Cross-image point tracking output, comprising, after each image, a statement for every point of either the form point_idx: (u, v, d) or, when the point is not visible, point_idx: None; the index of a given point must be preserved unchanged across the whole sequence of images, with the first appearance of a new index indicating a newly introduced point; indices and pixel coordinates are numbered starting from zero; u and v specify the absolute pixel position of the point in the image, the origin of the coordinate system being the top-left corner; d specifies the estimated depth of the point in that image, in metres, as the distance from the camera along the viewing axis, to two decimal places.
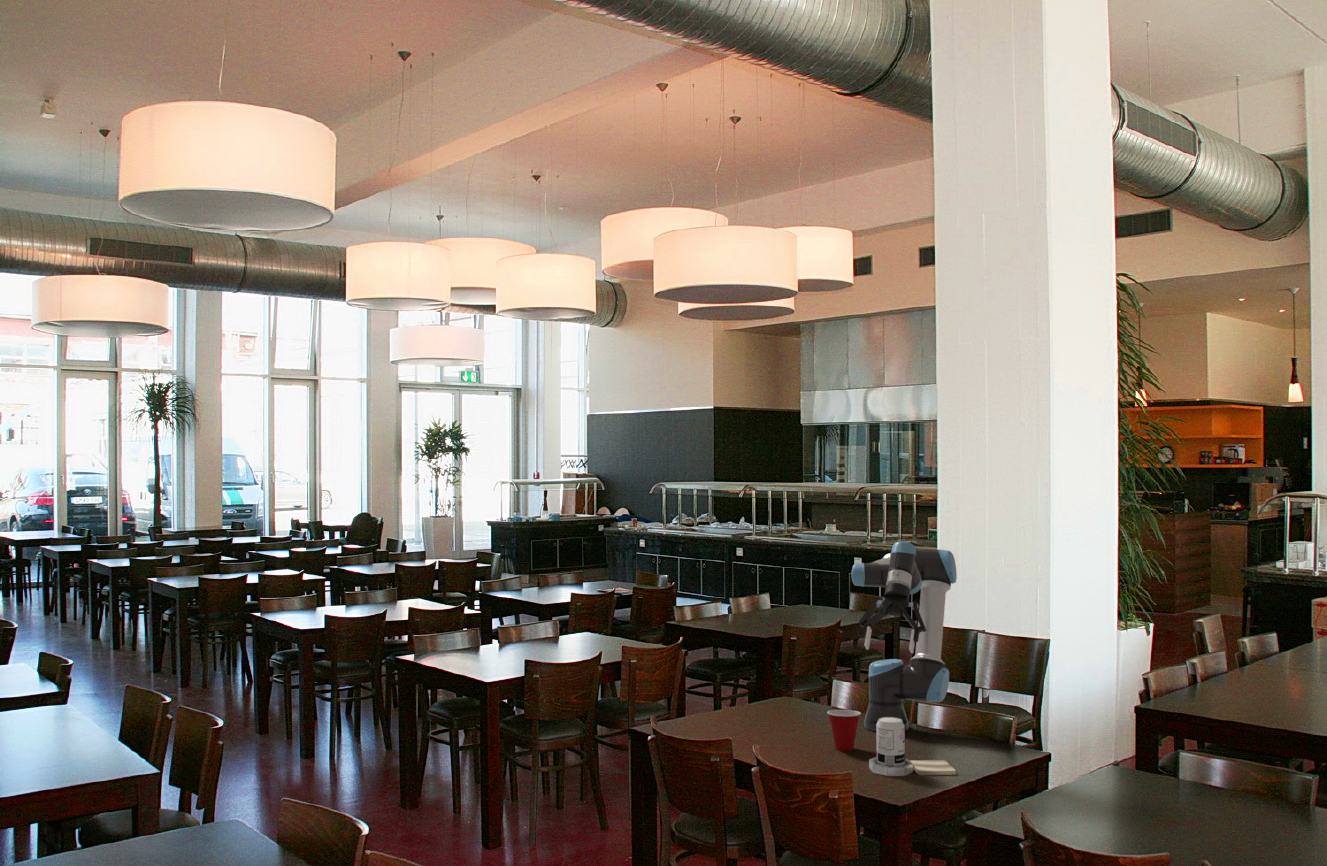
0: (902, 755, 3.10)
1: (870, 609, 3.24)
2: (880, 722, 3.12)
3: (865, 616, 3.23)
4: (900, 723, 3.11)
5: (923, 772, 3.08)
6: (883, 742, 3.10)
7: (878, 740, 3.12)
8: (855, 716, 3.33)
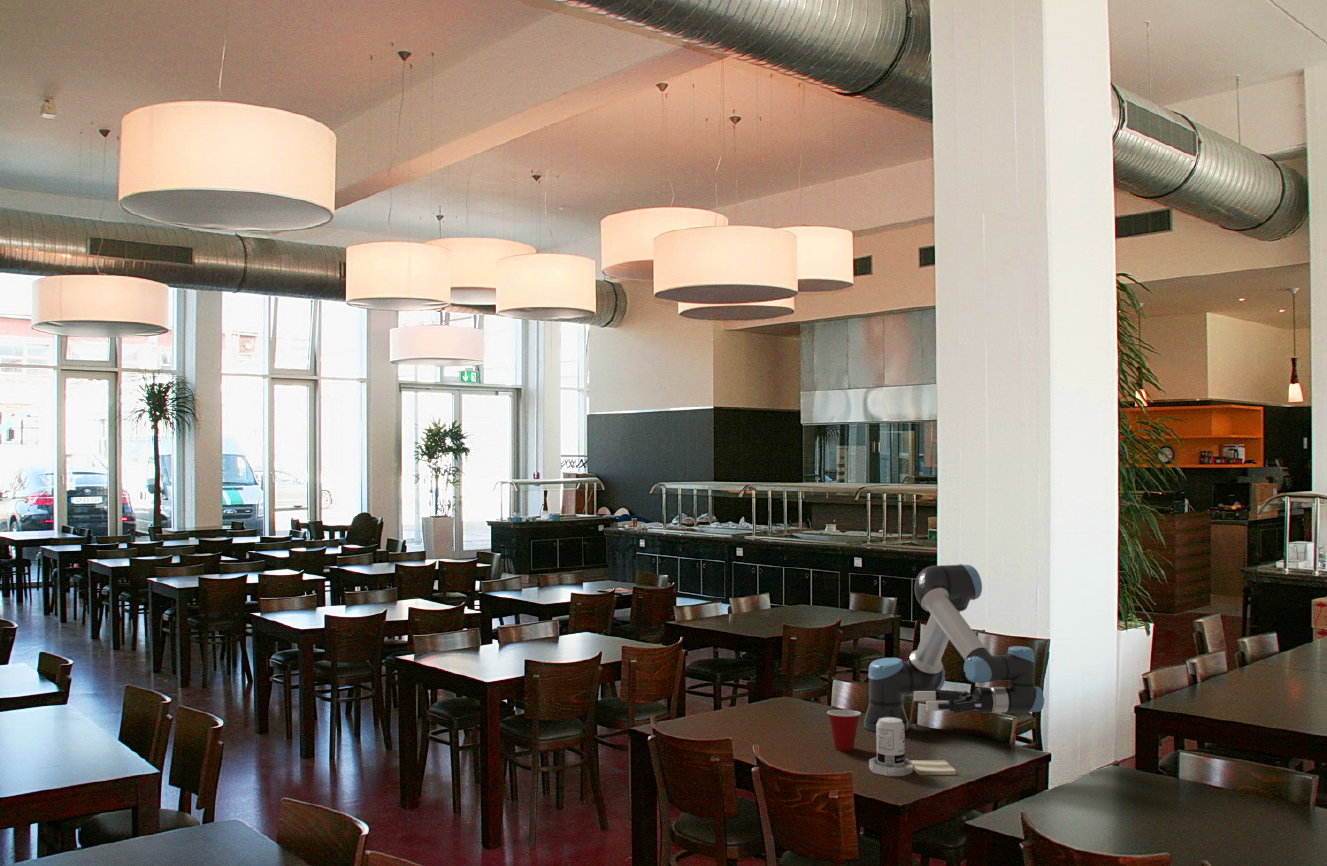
0: (902, 755, 3.10)
1: (968, 709, 3.07)
2: (880, 722, 3.12)
3: None
4: (900, 723, 3.11)
5: (923, 772, 3.08)
6: (883, 742, 3.10)
7: (878, 740, 3.12)
8: (855, 716, 3.33)
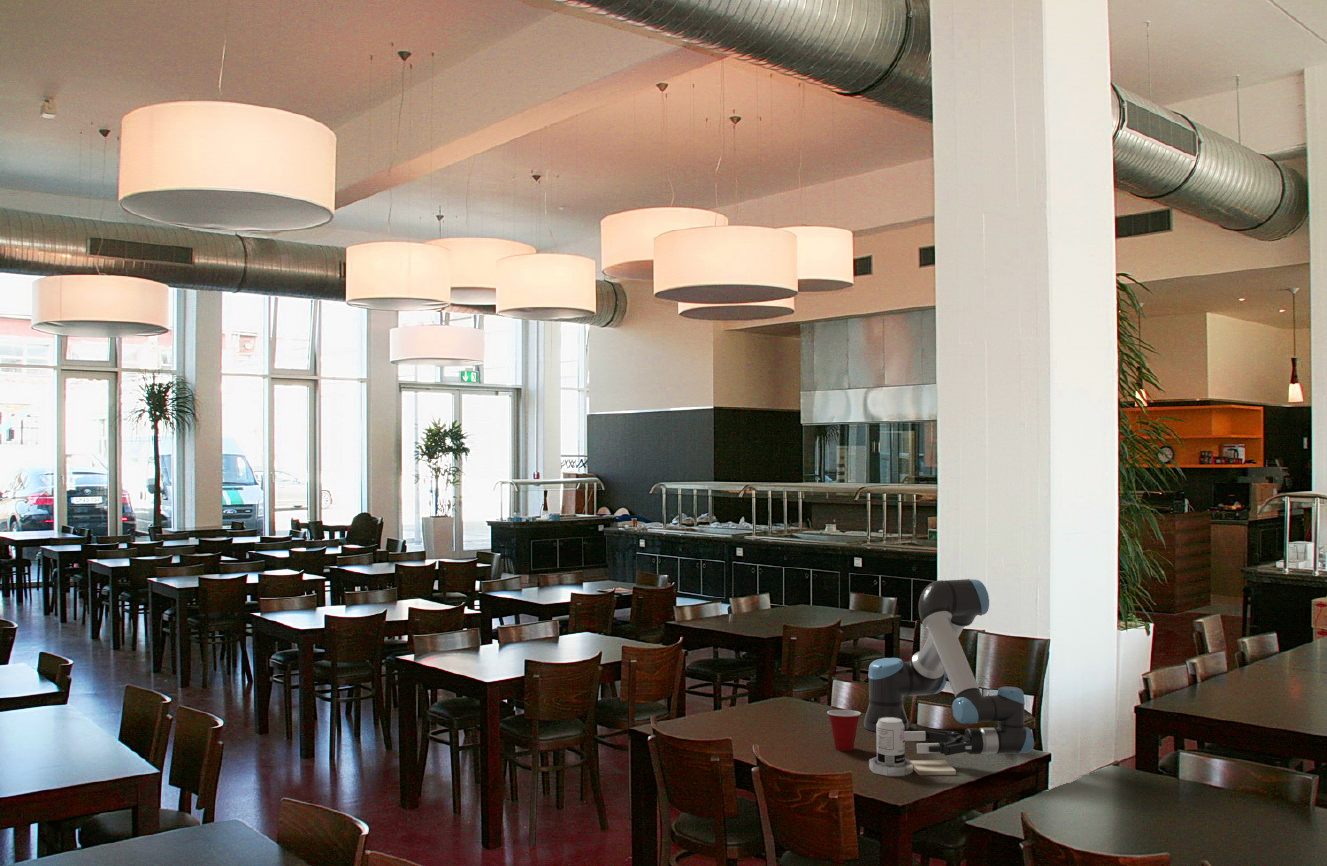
0: (902, 755, 3.10)
1: None
2: (880, 722, 3.12)
3: None
4: (900, 723, 3.11)
5: (923, 772, 3.08)
6: (883, 742, 3.10)
7: (878, 740, 3.12)
8: (855, 716, 3.33)
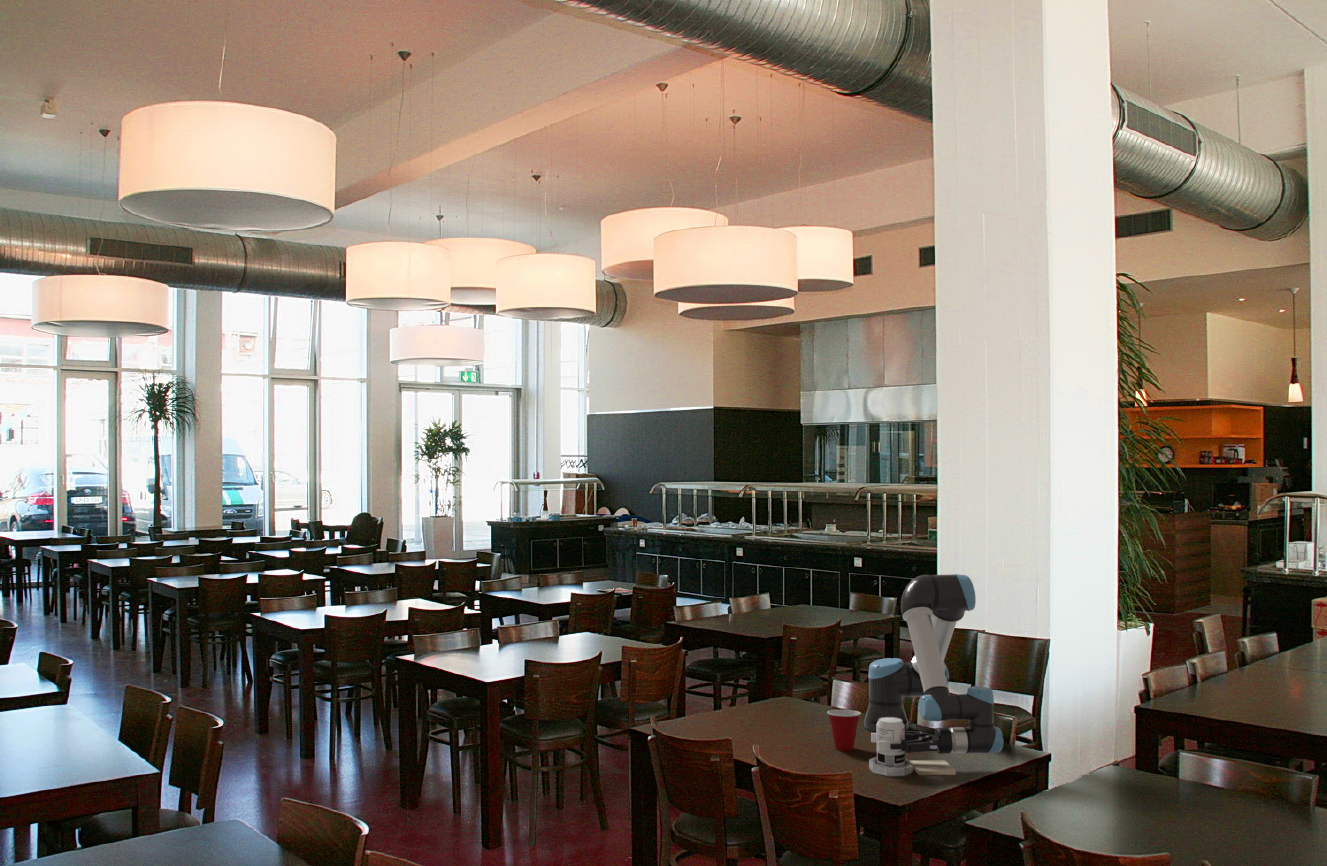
0: (902, 755, 3.10)
1: None
2: (880, 722, 3.12)
3: None
4: (900, 723, 3.11)
5: (923, 772, 3.08)
6: None
7: (878, 740, 3.12)
8: (855, 716, 3.33)
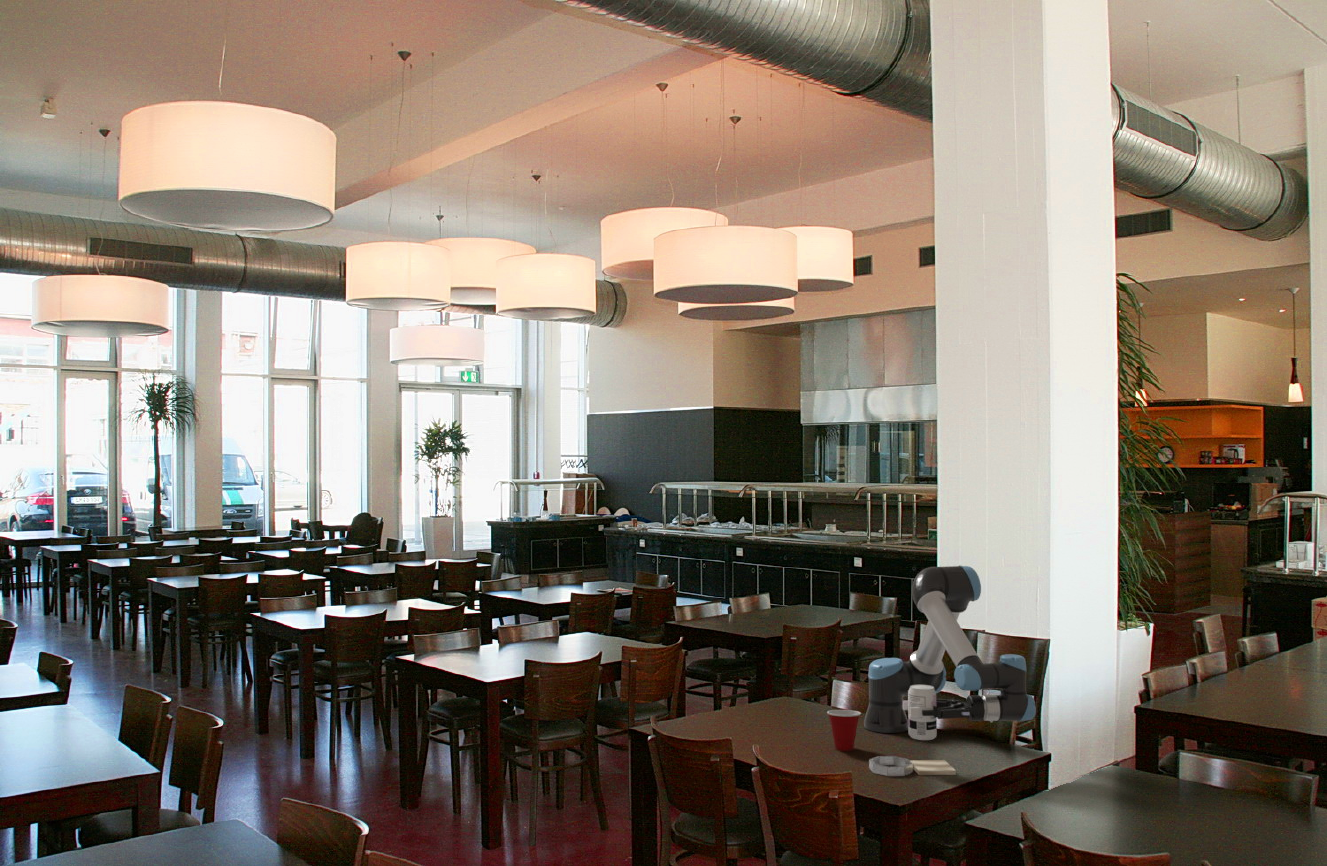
0: (934, 722, 3.11)
1: None
2: (912, 689, 3.13)
3: None
4: (932, 690, 3.11)
5: (923, 772, 3.08)
6: None
7: None
8: (855, 716, 3.33)
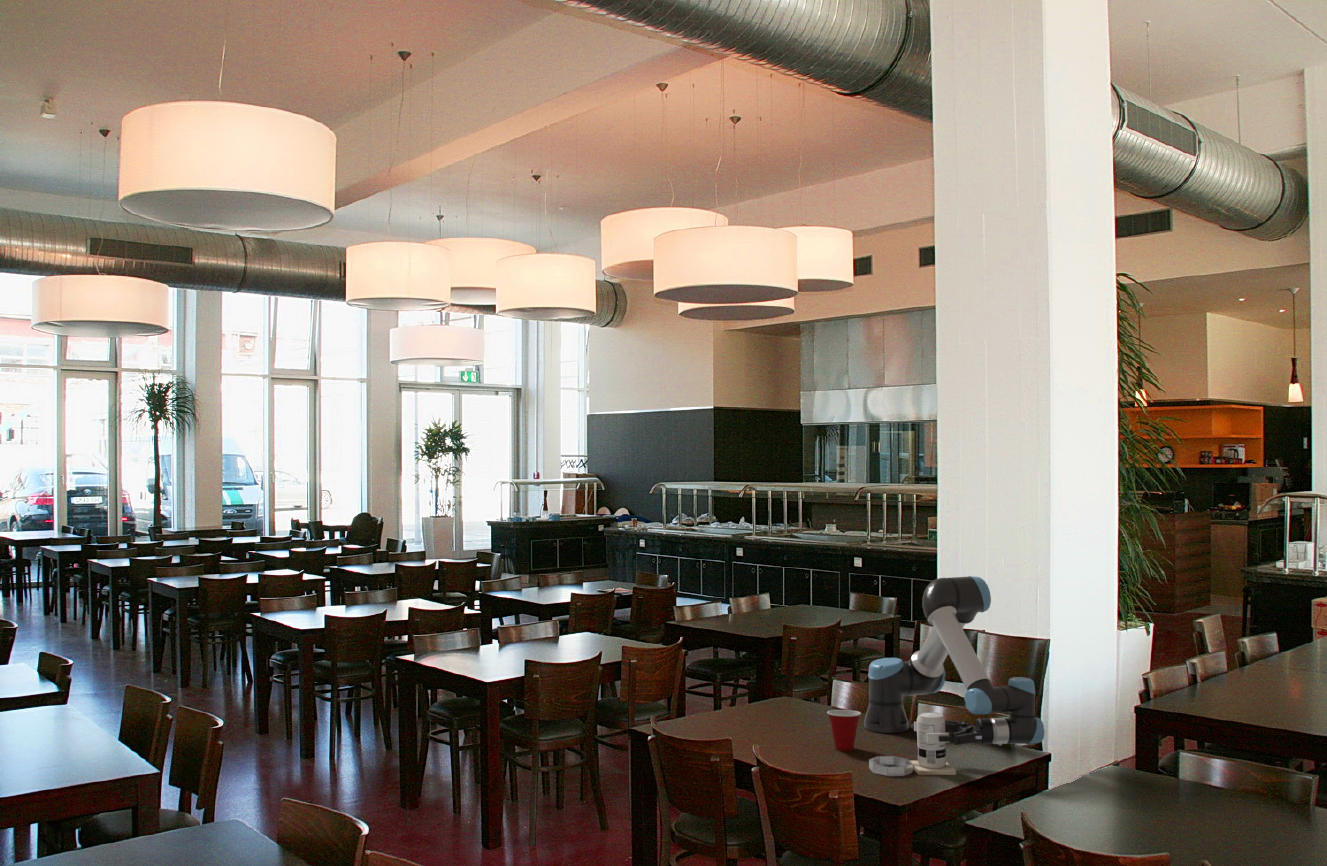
0: (943, 750, 3.11)
1: None
2: (920, 717, 3.13)
3: None
4: (941, 718, 3.11)
5: (923, 772, 3.08)
6: (924, 737, 3.11)
7: (919, 736, 3.13)
8: (855, 716, 3.33)
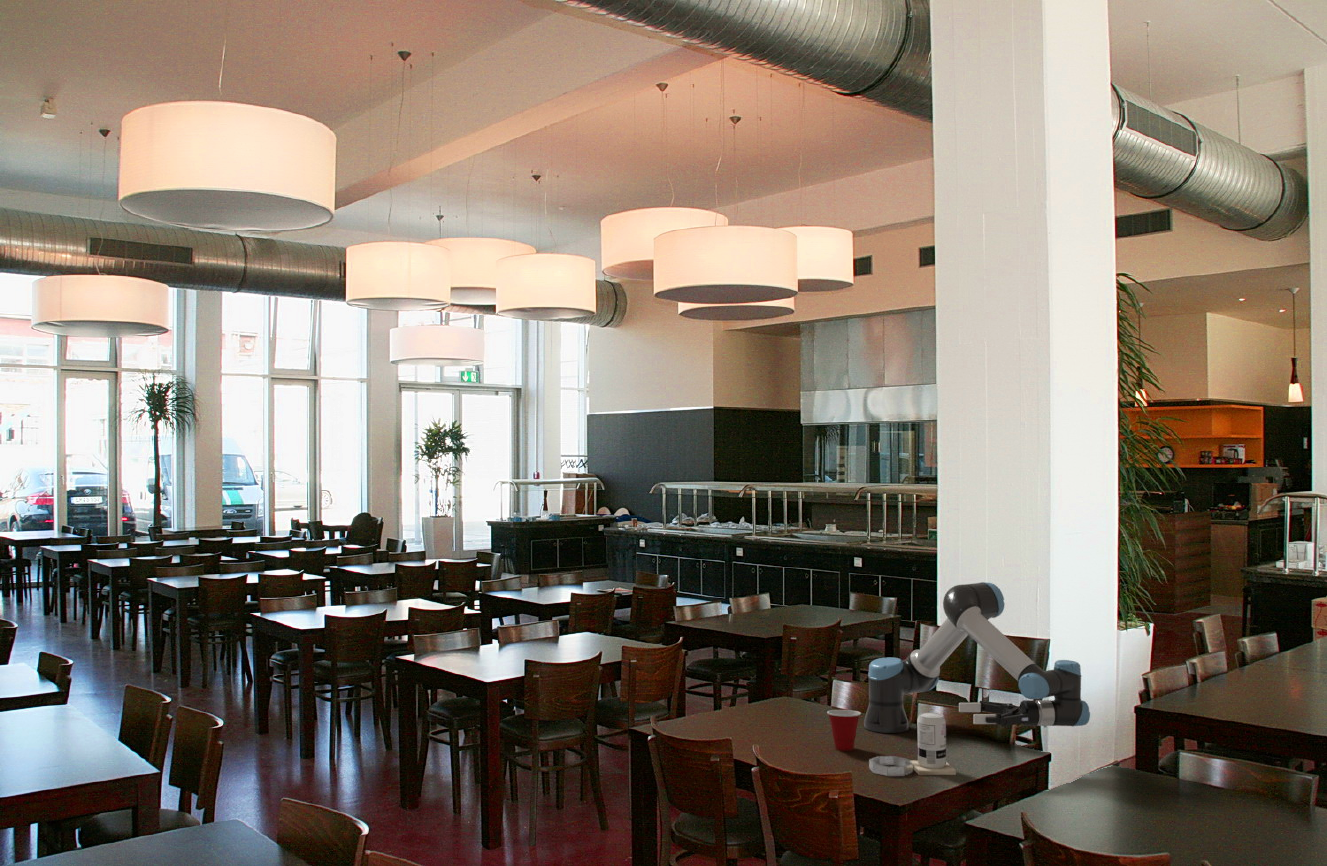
0: (944, 750, 3.11)
1: None
2: (921, 717, 3.12)
3: None
4: (941, 718, 3.11)
5: (923, 772, 3.08)
6: (925, 737, 3.11)
7: (919, 736, 3.13)
8: (855, 716, 3.33)
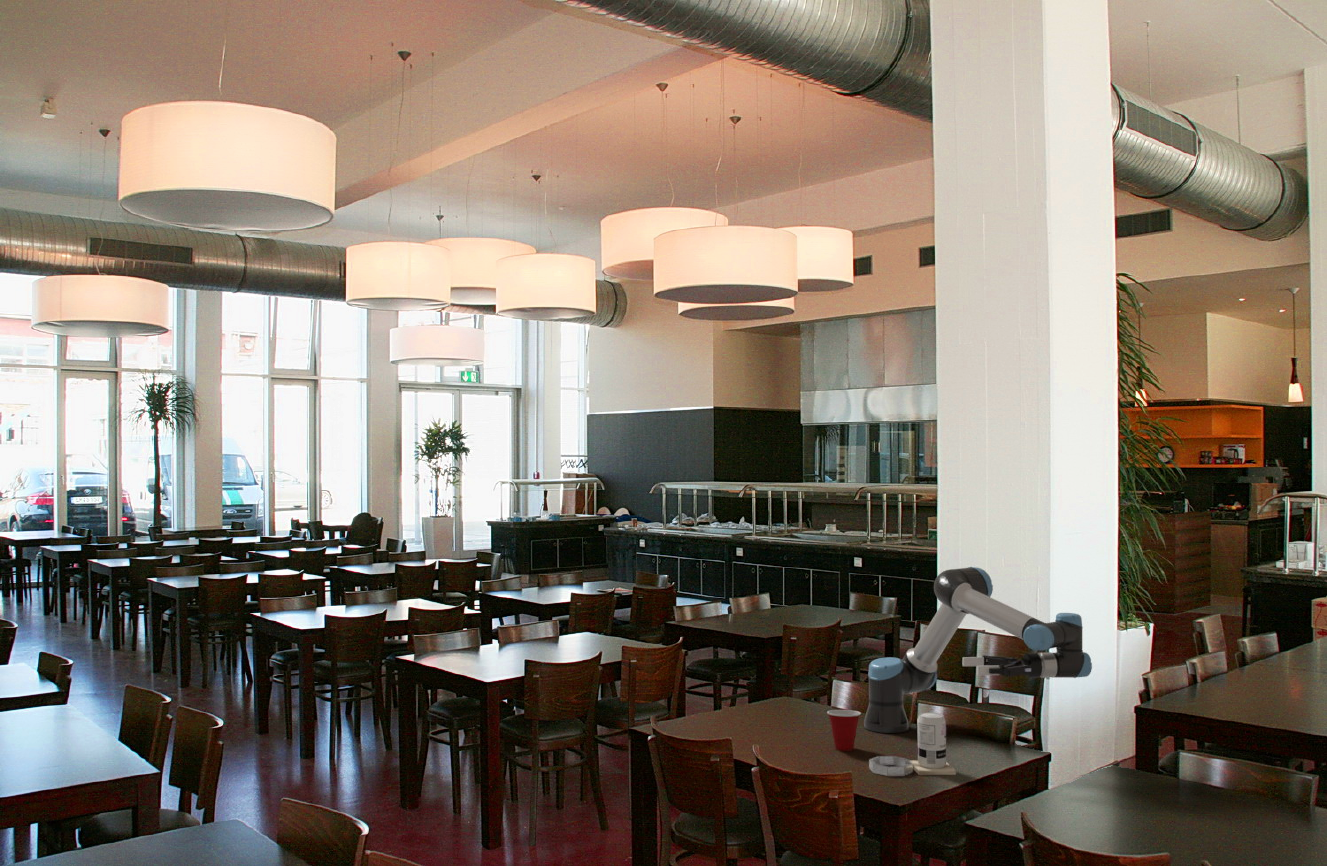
0: (944, 750, 3.11)
1: None
2: (921, 717, 3.12)
3: None
4: (941, 718, 3.11)
5: (923, 772, 3.08)
6: (925, 737, 3.11)
7: (919, 736, 3.12)
8: (855, 716, 3.33)
